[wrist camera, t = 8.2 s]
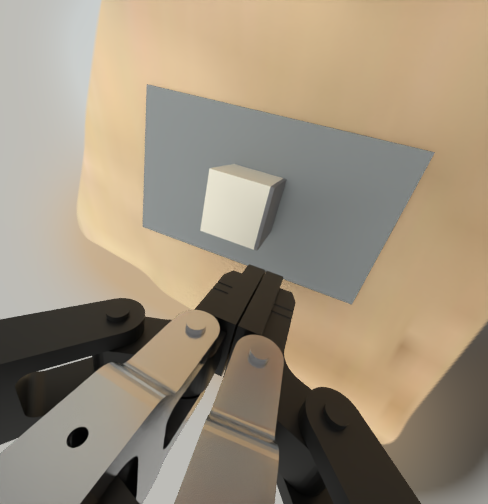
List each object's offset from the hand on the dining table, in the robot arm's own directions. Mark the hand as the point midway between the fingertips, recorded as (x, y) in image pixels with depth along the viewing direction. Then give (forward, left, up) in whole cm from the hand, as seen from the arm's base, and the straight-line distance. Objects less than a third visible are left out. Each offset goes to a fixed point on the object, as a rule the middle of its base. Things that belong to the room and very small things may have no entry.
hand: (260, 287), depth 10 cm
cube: (+2, 0, -11) cm, 11 cm away
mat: (+4, 0, -14) cm, 14 cm away
